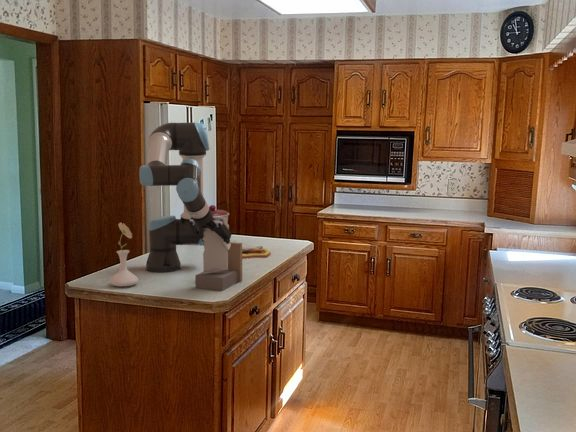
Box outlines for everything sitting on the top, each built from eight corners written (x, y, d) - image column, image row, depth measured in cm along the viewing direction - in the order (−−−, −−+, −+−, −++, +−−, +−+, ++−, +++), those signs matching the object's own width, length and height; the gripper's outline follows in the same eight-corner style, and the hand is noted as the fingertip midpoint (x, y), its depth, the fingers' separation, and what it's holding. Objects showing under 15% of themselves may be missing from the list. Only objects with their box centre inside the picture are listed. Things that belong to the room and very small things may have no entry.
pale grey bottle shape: (203, 272, 235) (202, 216, 232) (201, 269, 239) (201, 215, 236) (229, 270, 238) (229, 216, 234) (228, 268, 242) (227, 214, 238)
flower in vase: (140, 287, 236) (138, 224, 232) (110, 290, 232) (107, 226, 228) (136, 279, 248) (134, 219, 244) (107, 281, 244) (105, 221, 240)
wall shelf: (193, 287, 236) (192, 247, 234) (211, 278, 251) (211, 240, 249) (225, 290, 231) (225, 250, 229) (242, 281, 246) (242, 242, 244)
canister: (230, 240, 336) (229, 203, 333) (229, 246, 318) (228, 207, 315) (197, 240, 335) (196, 203, 332) (195, 246, 317) (194, 207, 314)
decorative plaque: (207, 245, 287) (211, 237, 307) (207, 259, 288) (211, 251, 308) (270, 245, 288) (270, 237, 308) (270, 259, 289) (270, 251, 309)
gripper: (172, 218, 224) (193, 252, 241) (222, 221, 217) (240, 256, 235) (178, 202, 228) (199, 237, 246) (228, 205, 221) (245, 240, 239)
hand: (219, 246), depth 240 cm, fingers closed on pale grey bottle shape, 8 cm apart
